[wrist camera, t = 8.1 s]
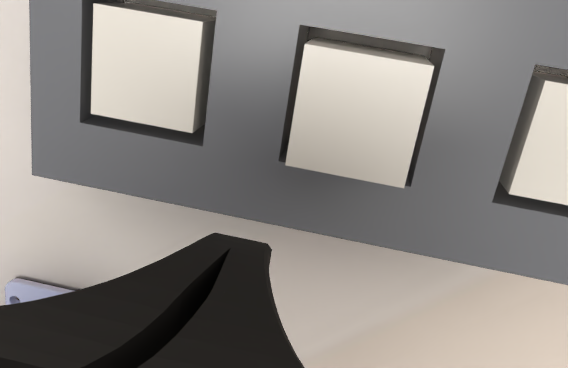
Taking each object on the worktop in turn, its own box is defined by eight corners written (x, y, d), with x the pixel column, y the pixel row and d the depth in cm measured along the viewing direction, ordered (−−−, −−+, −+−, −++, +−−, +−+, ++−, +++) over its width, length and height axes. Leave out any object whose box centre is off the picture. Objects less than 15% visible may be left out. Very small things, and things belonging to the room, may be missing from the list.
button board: (623, 262, 20) (665, 304, 17) (75, 152, 22) (31, 174, 19) (729, 15, 17) (801, 17, 14) (78, -86, 19) (27, -102, 16)
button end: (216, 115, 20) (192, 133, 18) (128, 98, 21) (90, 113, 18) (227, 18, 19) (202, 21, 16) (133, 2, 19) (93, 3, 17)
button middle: (398, 159, 18) (404, 188, 16) (297, 140, 19) (285, 165, 16) (423, 55, 17) (434, 66, 14) (315, 37, 17) (304, 43, 15)
